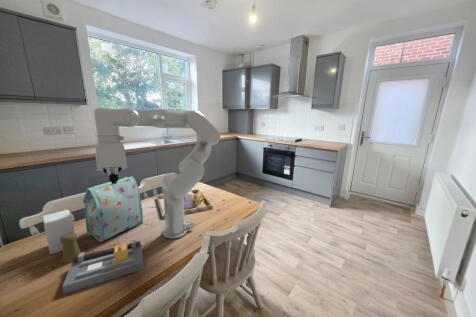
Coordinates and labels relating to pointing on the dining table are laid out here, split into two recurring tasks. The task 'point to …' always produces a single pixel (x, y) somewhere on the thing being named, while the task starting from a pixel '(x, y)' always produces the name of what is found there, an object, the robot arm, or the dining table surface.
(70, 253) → the cork
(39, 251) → the dining table surface
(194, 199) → the spice collection
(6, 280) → the dining table surface
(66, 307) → the dining table surface
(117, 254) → the breaker toggle
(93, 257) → the grey slider switch base
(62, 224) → the supplement box
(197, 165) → the robot arm
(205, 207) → the tray
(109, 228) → the lunch bag
